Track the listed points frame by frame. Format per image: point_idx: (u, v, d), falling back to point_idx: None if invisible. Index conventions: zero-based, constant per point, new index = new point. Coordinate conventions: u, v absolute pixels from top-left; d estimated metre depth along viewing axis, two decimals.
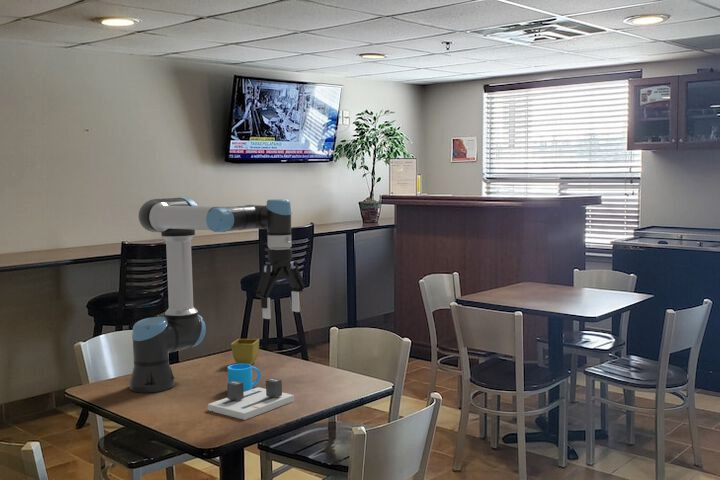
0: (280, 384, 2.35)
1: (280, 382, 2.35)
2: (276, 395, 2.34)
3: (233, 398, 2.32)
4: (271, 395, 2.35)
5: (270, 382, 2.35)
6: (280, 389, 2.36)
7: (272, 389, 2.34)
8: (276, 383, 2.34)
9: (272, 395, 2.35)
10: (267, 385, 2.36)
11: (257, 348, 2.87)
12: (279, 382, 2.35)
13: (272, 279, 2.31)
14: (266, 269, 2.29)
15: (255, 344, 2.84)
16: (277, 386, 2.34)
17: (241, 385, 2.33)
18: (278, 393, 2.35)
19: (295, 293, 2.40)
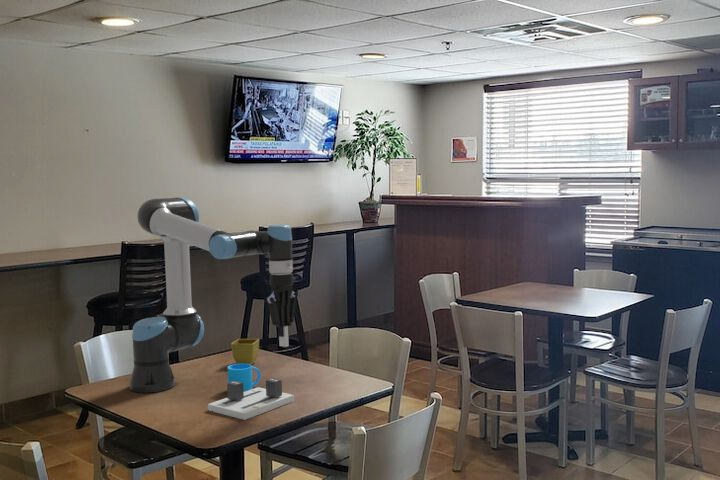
0: (280, 384, 2.35)
1: (280, 382, 2.35)
2: (276, 395, 2.34)
3: (233, 398, 2.32)
4: (271, 395, 2.35)
5: (270, 382, 2.35)
6: (280, 389, 2.36)
7: (272, 389, 2.34)
8: (276, 383, 2.34)
9: (272, 395, 2.35)
10: (267, 385, 2.36)
11: (257, 348, 2.87)
12: (279, 382, 2.35)
13: (280, 307, 2.37)
14: (270, 302, 2.34)
15: (255, 344, 2.84)
16: (277, 386, 2.34)
17: (241, 385, 2.33)
18: (278, 393, 2.35)
19: None
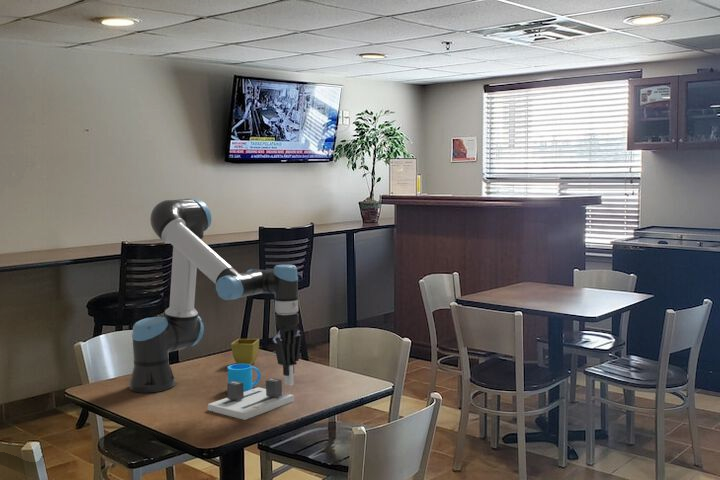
0: (280, 384, 2.35)
1: (280, 382, 2.35)
2: (276, 395, 2.34)
3: (233, 398, 2.32)
4: (271, 395, 2.35)
5: (270, 382, 2.35)
6: (280, 389, 2.36)
7: (272, 389, 2.34)
8: (276, 383, 2.34)
9: (272, 395, 2.35)
10: (267, 385, 2.36)
11: (257, 348, 2.87)
12: (279, 382, 2.35)
13: (285, 346, 2.39)
14: (276, 342, 2.35)
15: (255, 344, 2.84)
16: (277, 386, 2.34)
17: (241, 385, 2.33)
18: (278, 393, 2.35)
19: None
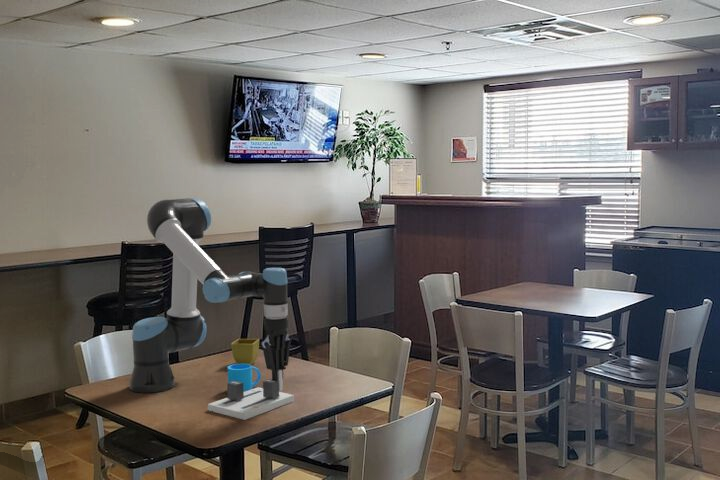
0: (277, 385, 2.34)
1: (277, 383, 2.34)
2: (273, 396, 2.33)
3: (233, 398, 2.32)
4: (268, 396, 2.34)
5: (267, 383, 2.34)
6: (277, 390, 2.34)
7: (269, 390, 2.33)
8: (274, 384, 2.33)
9: (269, 396, 2.34)
10: (264, 386, 2.34)
11: (257, 348, 2.87)
12: (276, 383, 2.34)
13: (274, 351, 2.35)
14: (265, 346, 2.31)
15: (255, 344, 2.84)
16: (274, 387, 2.33)
17: (241, 385, 2.33)
18: (275, 394, 2.34)
19: None
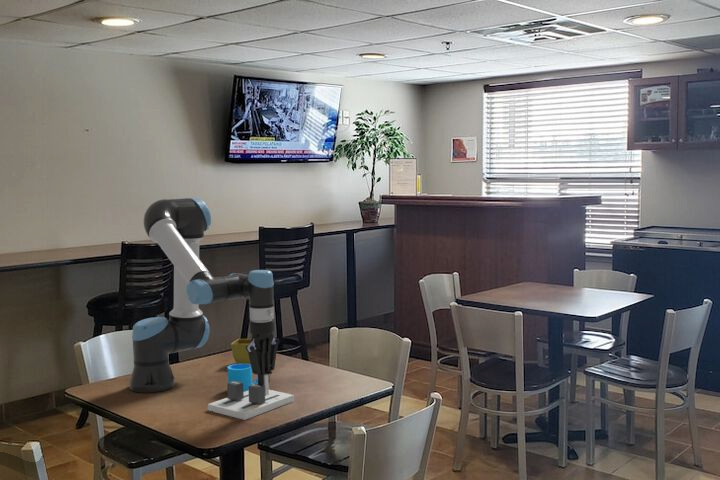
0: (263, 390, 2.29)
1: (263, 388, 2.29)
2: (259, 401, 2.28)
3: (233, 398, 2.32)
4: (253, 401, 2.29)
5: (253, 388, 2.28)
6: (263, 395, 2.29)
7: (255, 395, 2.28)
8: (259, 389, 2.28)
9: (254, 401, 2.28)
10: (250, 391, 2.29)
11: None
12: (262, 388, 2.29)
13: (260, 355, 2.30)
14: (250, 350, 2.26)
15: None
16: (260, 392, 2.28)
17: (241, 385, 2.33)
18: (261, 399, 2.29)
19: None
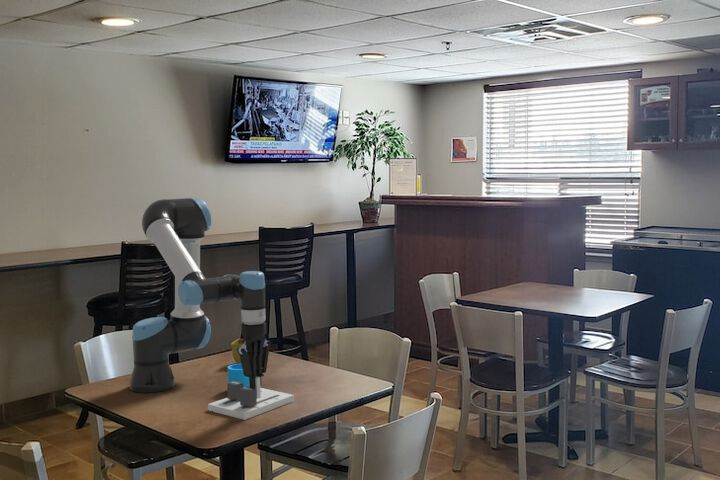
0: (254, 393, 2.26)
1: (254, 391, 2.26)
2: (250, 404, 2.25)
3: (233, 398, 2.32)
4: (245, 405, 2.26)
5: (244, 391, 2.26)
6: (254, 398, 2.26)
7: (246, 398, 2.25)
8: (251, 392, 2.25)
9: (246, 404, 2.26)
10: (241, 394, 2.26)
11: None
12: (253, 391, 2.26)
13: (251, 358, 2.27)
14: (241, 353, 2.23)
15: None
16: (252, 395, 2.25)
17: (241, 385, 2.33)
18: (252, 402, 2.26)
19: None
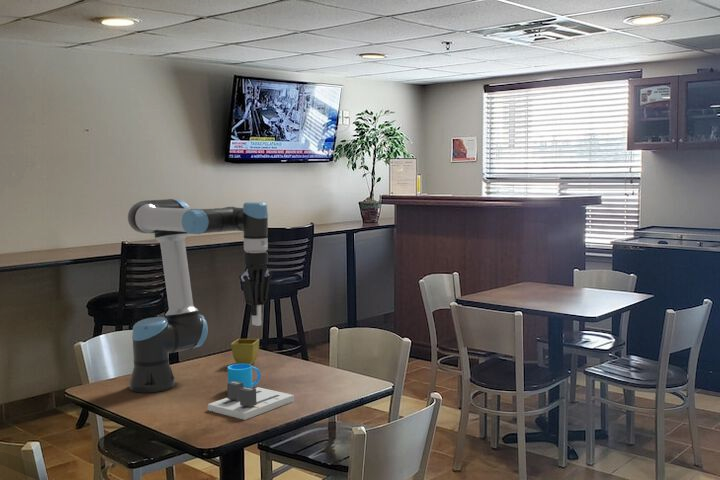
0: (254, 393, 2.26)
1: (254, 391, 2.26)
2: (250, 404, 2.25)
3: (233, 398, 2.32)
4: (245, 405, 2.26)
5: (244, 391, 2.26)
6: (254, 398, 2.26)
7: (246, 398, 2.25)
8: (251, 392, 2.25)
9: (246, 404, 2.25)
10: (241, 394, 2.26)
11: (257, 348, 2.87)
12: (253, 391, 2.26)
13: (253, 285, 2.33)
14: (244, 280, 2.30)
15: (255, 344, 2.84)
16: (251, 395, 2.25)
17: (241, 385, 2.33)
18: (252, 402, 2.26)
19: None
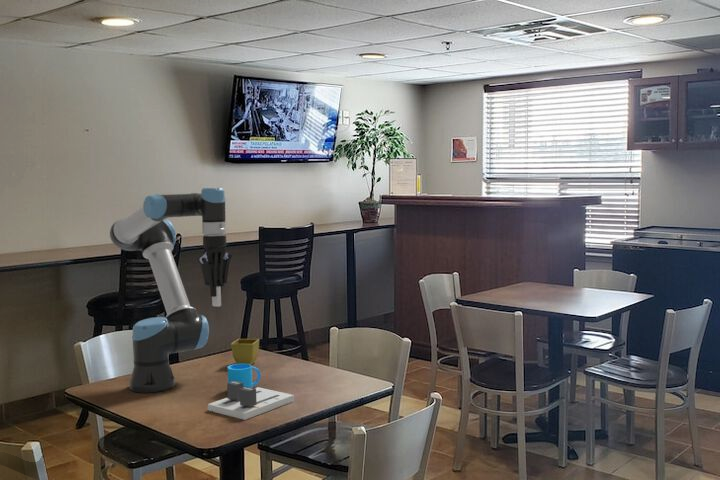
0: (254, 393, 2.26)
1: (254, 391, 2.26)
2: (250, 404, 2.25)
3: (233, 398, 2.32)
4: (245, 405, 2.26)
5: (244, 391, 2.26)
6: (254, 398, 2.26)
7: (246, 398, 2.25)
8: (251, 392, 2.25)
9: (246, 404, 2.25)
10: (241, 394, 2.26)
11: (257, 348, 2.87)
12: (253, 391, 2.26)
13: (212, 267, 2.43)
14: (202, 262, 2.40)
15: (255, 344, 2.84)
16: (251, 395, 2.25)
17: (241, 385, 2.33)
18: (252, 402, 2.26)
19: None
